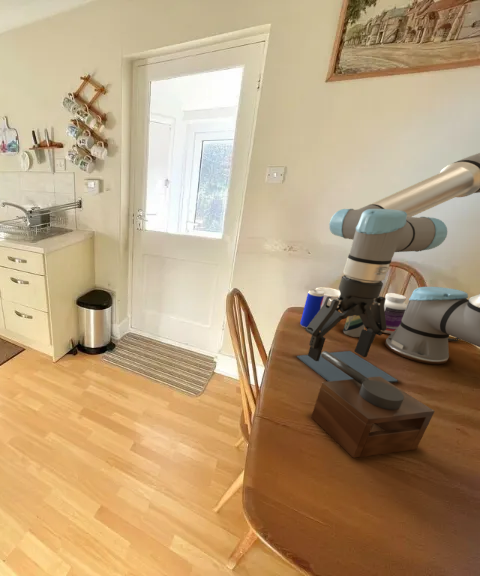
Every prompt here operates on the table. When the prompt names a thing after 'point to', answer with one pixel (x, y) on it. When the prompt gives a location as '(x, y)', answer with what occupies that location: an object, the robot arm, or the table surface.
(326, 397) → the wooden box
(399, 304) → the pill bottle
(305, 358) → the mat
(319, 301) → the beverage can
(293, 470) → the table surface
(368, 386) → the small frying pan
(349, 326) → the lotion bottle
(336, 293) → the cup
